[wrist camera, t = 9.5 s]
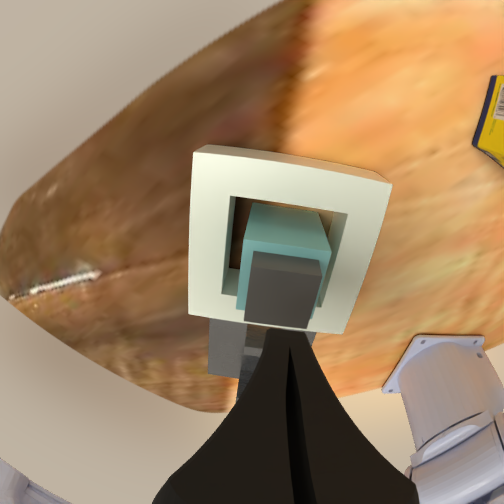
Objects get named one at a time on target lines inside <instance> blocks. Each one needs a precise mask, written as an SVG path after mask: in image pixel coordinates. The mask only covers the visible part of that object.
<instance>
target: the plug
mask: <svg viewBox="0 0 504 504" xmlns="http://www.w3.org/2000/svg"><path fill="white" fill-rule="evenodd" d="M331 252H332V251H331V248H330V246H329V243H328V240H327V237H326V234H325V231H324V228H323V225H322V223H321V220H320V217H319V214H318V212H313V211H307V210H301V209H294V208H288V207H281V206H274V205H268V204H261V203H252V207H251V211H250V215H249V219H248V223H247V227H246V231H245V235H244V240H243V248H242V257H241V266H240V274H239V283H238V292H237V301H236V309H237V310H244V311H245V314H244V321H245V322H252V323H260V324H267V325H275V326H283V327H292V328H300V329H307V327H308V323H309V320H310V319H312V318H313V314H314V311H315V308H316V305H317V301H318V298H319V295H320V291H321V288H322V285H323V281H324V278H325V274H326V271H327V267H328V263H329V260H330V256H331Z"/></svg>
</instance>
